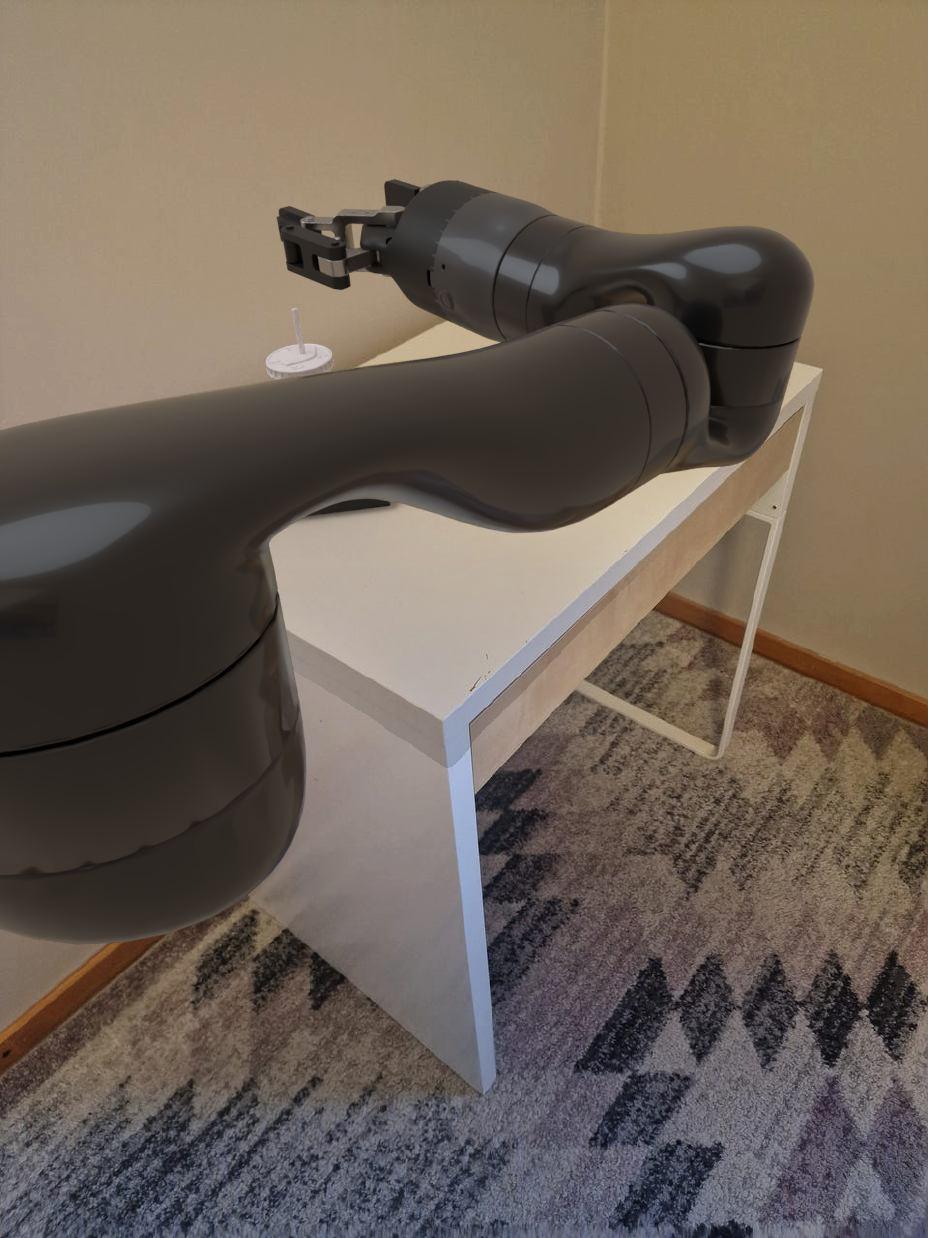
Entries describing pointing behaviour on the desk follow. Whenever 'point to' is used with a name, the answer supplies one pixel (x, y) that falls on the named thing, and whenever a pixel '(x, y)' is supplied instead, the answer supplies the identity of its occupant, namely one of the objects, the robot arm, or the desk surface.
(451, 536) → the desk surface
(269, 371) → the smoothie
